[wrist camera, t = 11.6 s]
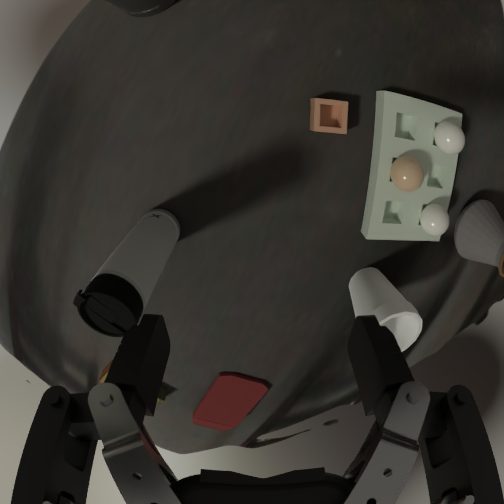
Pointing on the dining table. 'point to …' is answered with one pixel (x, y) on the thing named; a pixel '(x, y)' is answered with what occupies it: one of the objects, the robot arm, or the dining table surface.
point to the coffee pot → (481, 234)
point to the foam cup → (385, 305)
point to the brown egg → (407, 174)
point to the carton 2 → (228, 401)
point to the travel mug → (129, 275)
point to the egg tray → (414, 145)
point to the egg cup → (328, 115)
